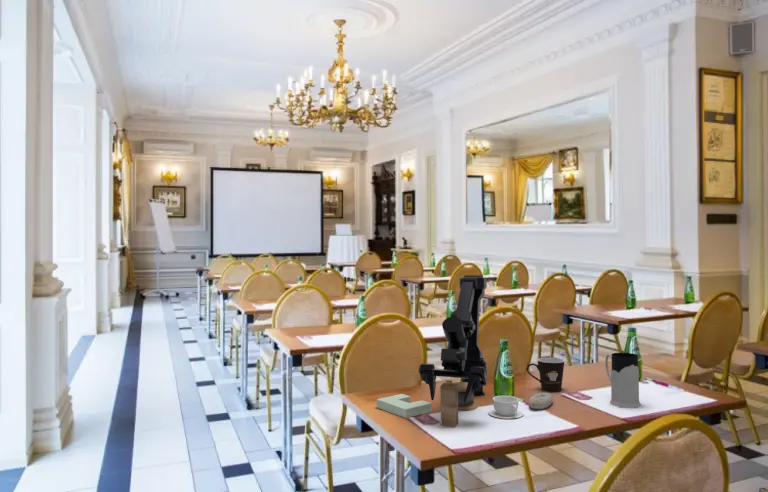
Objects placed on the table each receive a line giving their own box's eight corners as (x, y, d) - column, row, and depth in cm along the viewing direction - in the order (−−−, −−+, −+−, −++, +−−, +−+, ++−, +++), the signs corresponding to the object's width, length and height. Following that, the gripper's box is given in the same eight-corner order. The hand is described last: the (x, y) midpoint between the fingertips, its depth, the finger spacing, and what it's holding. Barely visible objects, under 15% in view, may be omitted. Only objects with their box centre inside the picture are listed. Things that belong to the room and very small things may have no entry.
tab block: (444, 421, 164) (443, 379, 164) (458, 423, 163) (457, 379, 163) (440, 426, 160) (440, 382, 160) (455, 427, 159) (454, 383, 159)
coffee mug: (567, 388, 198) (567, 359, 198) (560, 394, 191) (560, 363, 191) (534, 384, 205) (533, 355, 204) (525, 390, 197) (525, 360, 197)
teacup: (481, 412, 173) (481, 396, 173) (509, 408, 177) (509, 392, 177) (501, 422, 164) (501, 405, 164) (530, 417, 168) (530, 401, 168)
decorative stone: (557, 400, 184) (557, 390, 184) (545, 413, 171) (544, 401, 171) (538, 398, 188) (538, 387, 187) (524, 410, 174) (524, 399, 174)
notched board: (402, 401, 185) (402, 393, 185) (431, 411, 174) (431, 403, 174) (376, 407, 179) (376, 399, 179) (405, 418, 168) (405, 409, 168)
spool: (471, 401, 184) (471, 381, 184) (481, 409, 175) (481, 388, 175) (444, 403, 182) (444, 382, 182) (452, 411, 174) (452, 389, 173)
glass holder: (620, 408, 174) (620, 358, 174) (594, 396, 188) (593, 349, 188) (647, 406, 176) (646, 356, 176) (618, 394, 190) (618, 348, 190)
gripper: (419, 335, 168) (409, 382, 158) (484, 338, 162) (478, 387, 152) (427, 357, 176) (417, 404, 165) (489, 360, 170) (483, 409, 159)
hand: (448, 400), depth 160 cm, fingers open, 9 cm apart
